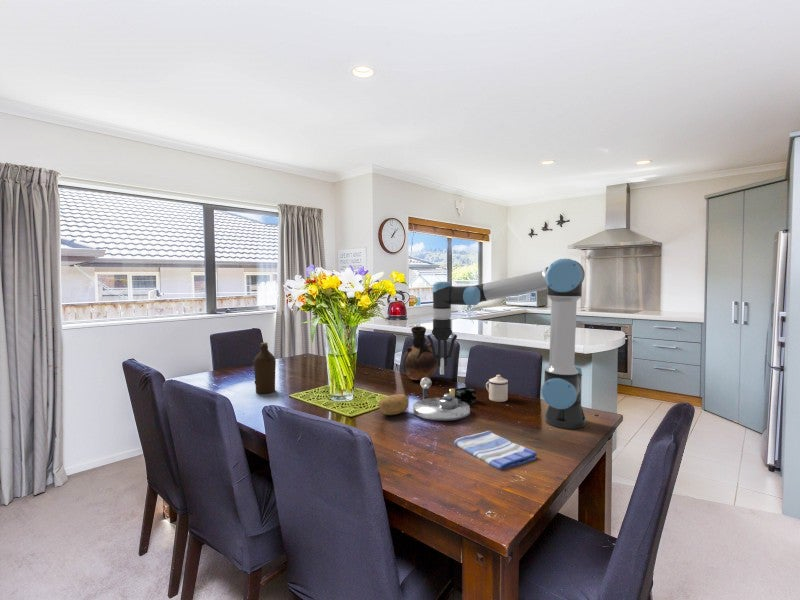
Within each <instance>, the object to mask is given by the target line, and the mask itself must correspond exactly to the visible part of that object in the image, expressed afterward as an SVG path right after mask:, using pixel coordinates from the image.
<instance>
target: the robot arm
mask: <svg viewBox="0 0 800 600" xmlns="http://www.w3.org/2000/svg"><path fill="white" fill-rule="evenodd" d="M585 276H586V274H585V269H584V267H583V265H582V264H581V263H580V262H578V261H576V260H573V259H571V258H559V259H557V260H555V261H552V263H550V265H549V266H547V267H545V268H544V269H543V270H540V271H536V272H531V273H530V272H529V273H527V274H521V275H517V276H512V277H508V278H504V279H499V280H494V281H490V282H485V283H480V284H476V285H466V286H452V282H450V281H435V282H434V283H433V285H432V317H433V319H432V329H431V333H428V334H427V335H426V338H427V340H429V344H430V345H431V349H432V353H433V357H435V358H437V367H439V374H440V375H445V367H447V365H448V364H447V361H448V358H451V357H452V354H453V349H454V346H455V341H456V340H457V338H458V335H457V334H455V333H454V332H453V330H452V320H451V317H452V305H457V306H458V305H460V306H468V307H469V306H477V305H478V304H479V303H483V302H487V301H492V300H497V299H502V298H507V297H514V296H518V295H523V294H528V293H534V292H540V291H544V290H547V291H546V296H547V297H548V298H549V299H550V301H551V303H550V305H551V309H550V330H549V331H550V332H549V335H550V337H549V361H548V362H549V363H548V365H547V366H546V367H544V381H543V382H544V383H543V384H542V387H541V395H542V398H543V400H544V402H545V403H546V404H547V405H548V406H547V409H546V412H545V413H544V414H545V415H544V421H545V422H546V423H547V424H548V425H550V426H552V427H555V428H560V429H566V430H567V429H568V430H577V428H578V429H582V428H584V427H585V426H586V425H585V424H587V423H586V416H585V412H584V410H583V406H582V386H583V385H582V384H583V383H582V382H583V381H582V378H583V372H582V368H581V367H579V366H576V365H575V357H576V356H575V355H576V353H575V352H576V350H575V349H576V331H577V330H576V327H577V326H576V325H577V304H578V303H577V302H578V300H579V299H581V298H582V293H583V292H582V290H583V282H584V280H585ZM450 337H451V340H450V344H449V347H448V346H447V345H448V344H447V343H448V340H449V338H450ZM433 338H435V340H436V343H437V344H436V345H437V346H436V348H437V349H436V350H435V344H434V342H433ZM441 341H443V343H442V342H441ZM441 343H442V344H443V346H442V347H443V348H442V350H443V351H442V352H443V353H442V354H441ZM447 347H448V349H447ZM447 351H448V352H447ZM436 352H437V353H436ZM441 355H443V357H442V356H441ZM583 426H584V427H583ZM581 427H582V428H581Z"/></svg>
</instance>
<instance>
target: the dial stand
mask: <svg viewBox="0 0 800 600" xmlns="http://www.w3.org/2000/svg"><path fill="white" fill-rule="evenodd" d="M419 381H420V383H419V384H420V386H421V388H422V400H423V399H428V389H429V388H431V386H432V380H431V378H427V377H424V378H422V379H421V380H419Z"/></svg>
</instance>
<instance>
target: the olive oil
mask: <svg viewBox="0 0 800 600" xmlns="http://www.w3.org/2000/svg"><path fill="white" fill-rule="evenodd" d="M268 344H269V343H268V342H261V343H260V351H259V353H258V354H256V355H255V357H254V359H253V371H254V385H255V393H256V394H259V395H265V394H267V395H268V394H271V393H275V392H276V365H277V364H276V362H277V361H276V357H275V356H274V355H273V353H272V352H270V350H269V347H268V346H269V345H268Z"/></svg>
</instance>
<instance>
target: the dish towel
mask: <svg viewBox="0 0 800 600" xmlns="http://www.w3.org/2000/svg"><path fill="white" fill-rule="evenodd" d="M453 443H454V444H453V445H455V446H456V447H458V448H459V449H461V450H463V451H464V452H466V453H467V454H469V455H471V456H473V457H475V458H477V459H479V460H480V461H482V462H484V463H485V464H488V465H489V466H492V467H493V468H495V469H497V470H500V471H502V470H505V469H509V468H512V467H516V466H519V465H522V464H525V463H528V462H532V461H535V460H537V459H538V458H537V457H536V456H537V455H538V454H537V452H536V451H535V450H533V449H530V448H527V447H525V446H523V445H520V444H518V443H514V442H512V441H510V440H509V439H508V438H504V437H502V436H500V435H498V434H495V433H493V431H491V430H487V431H483V432H480V433H479V432H478V433H474V434H471V435H466V436H462V437H461V436H460V437H459V438H456V439H455V440H454V442H453Z"/></svg>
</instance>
